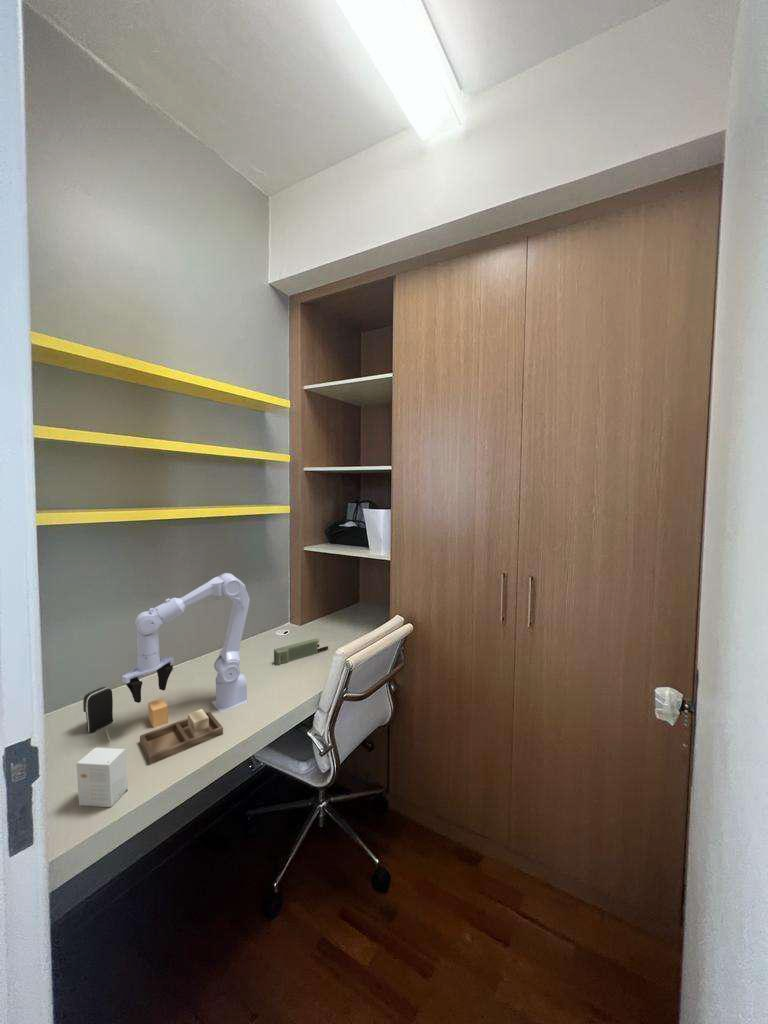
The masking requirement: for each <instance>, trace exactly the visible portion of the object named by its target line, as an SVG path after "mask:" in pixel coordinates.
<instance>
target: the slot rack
mask: <svg viewBox="0 0 768 1024" xmlns="http://www.w3.org/2000/svg"><path fill="white" fill-rule="evenodd" d="M204 712H205V713H206V715H207V716H208V717H209V731H208V732H206V733H204V734H201V735H199V736H196V737H194V738H193V736H192V735H191V733H190V732H189V730H188V717H187V718H183V719H181V720H178V721H176V722H173V723H171V724H168V725H164V726H163V727H159V728H157V729H154V730H151V731H149V732H146V733H143V734H140V735H139V744H140V746H141V749H142V750H143V753H144V755H145V757H146V760H147V761H148V764H149V766H151V765H153V764H156V763H158V762H160V761H163V760H165V759H167V758H171V757H173V756H175V755H177V754H179V753H182V752H184V751H187V750H189V749H191V748H193V747H196V746H199V745H202V744H204V743H206V742H209V741H210V740H213V739H216V738H218V737H220V736H223V735H224V727H223V726H222V725H221V724H220V722H219V721H218V720H217V718H216V717H215V716H214V715H213V714H212V712H211V711H210V710H206V711H205V710H204Z"/></svg>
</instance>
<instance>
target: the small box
mask: <svg viewBox="0 0 768 1024" xmlns="http://www.w3.org/2000/svg"><path fill="white" fill-rule="evenodd" d="M126 752H127V751H126V748H113V747H110V748H109V747H95V748H93V749H92V750H91V751H89V753H86V755H85V756H84V757H83V758H81V759H80V760H79V761H77V762H76V774H77V778H76V779H77V791H78V805H79V806H86V807H87V806H88V807H102V808H103V807H104V808H112V807H113V806H114V805H115V804H116V802H117V801H118V800H119V799H120V798H121V797H122V795H124V794H125V792H127V790H128V786H129V785H128V770H127V769H128V767H127V753H126Z"/></svg>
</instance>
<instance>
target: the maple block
mask: <svg viewBox="0 0 768 1024" xmlns="http://www.w3.org/2000/svg"><path fill="white" fill-rule="evenodd" d="M187 718H188V730H189V732H190V733H191V735H192V736H193V738H194V737H196V736H199V735H201V734H204V733H206V732H208V731H209V717H208V716H207V715H206V713H205V710H203V708H200V709H198V710H195V711H192V712H189V713H187Z"/></svg>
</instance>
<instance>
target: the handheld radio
mask: <svg viewBox="0 0 768 1024" xmlns="http://www.w3.org/2000/svg"><path fill="white" fill-rule="evenodd" d="M318 643H320V638H319V637H315V638H311V639H308V640H305V641H301V642H296V643H293V644H289V645H285V646H281V647H278V648H274V649H273V664H274V665H275V666H279V665H283V664H286V663H289V662H290V663H291V662H294V661H297V660H300V659H304V658H307V657H310V656H314V654H315V655H318V653H319V652H322V651H325V650H328V649H329V646H328V645H326V646H322V647H320V644H318ZM319 647H320V648H319Z"/></svg>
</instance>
